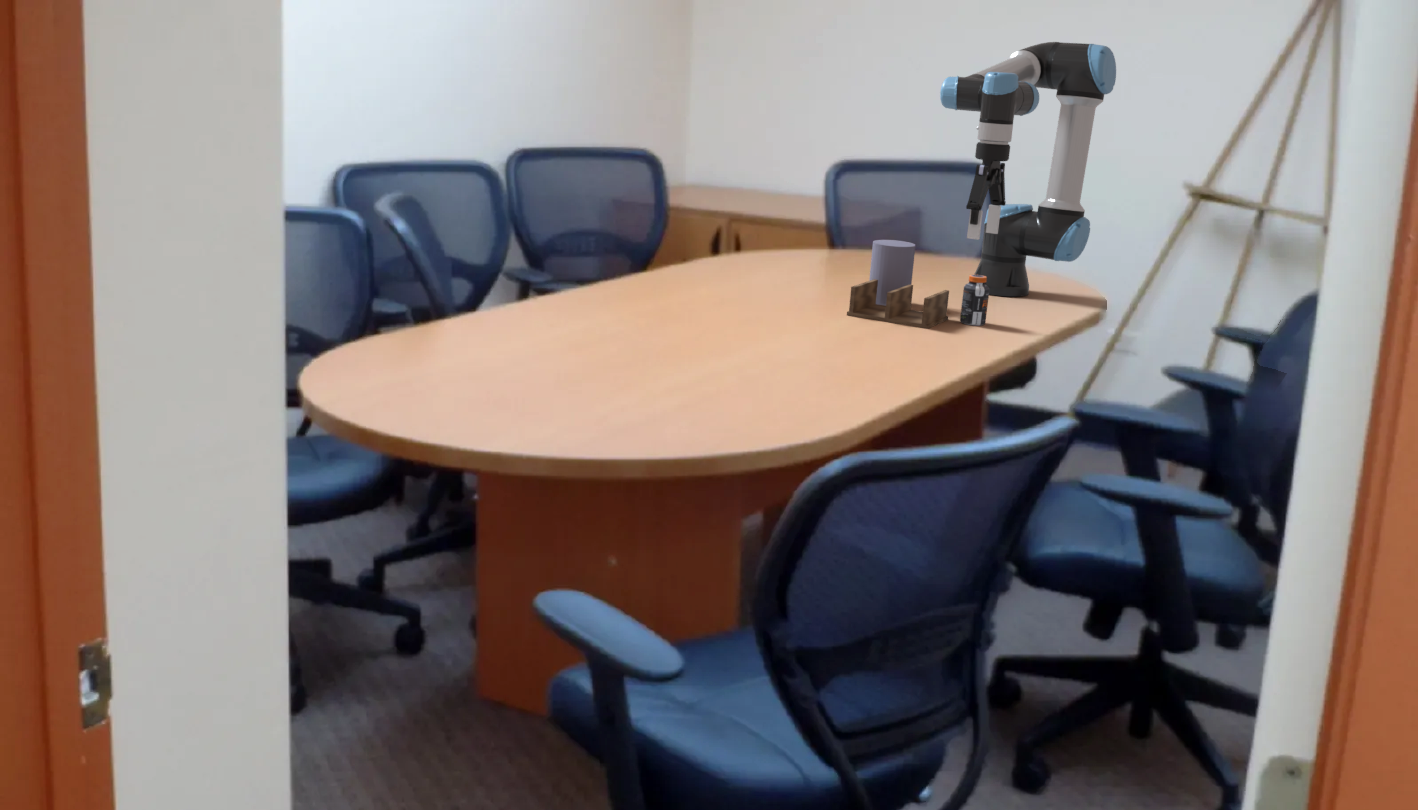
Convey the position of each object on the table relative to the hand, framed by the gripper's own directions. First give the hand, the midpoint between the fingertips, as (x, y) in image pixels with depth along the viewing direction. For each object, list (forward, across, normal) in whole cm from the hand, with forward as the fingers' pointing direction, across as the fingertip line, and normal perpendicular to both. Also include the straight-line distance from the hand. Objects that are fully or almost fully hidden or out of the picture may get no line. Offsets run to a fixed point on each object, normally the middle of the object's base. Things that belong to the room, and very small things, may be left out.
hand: (982, 236), depth 311 cm
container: (+21, -7, -24) cm, 33 cm away
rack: (+21, +7, -16) cm, 27 cm away
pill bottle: (+21, 0, 0) cm, 21 cm away
